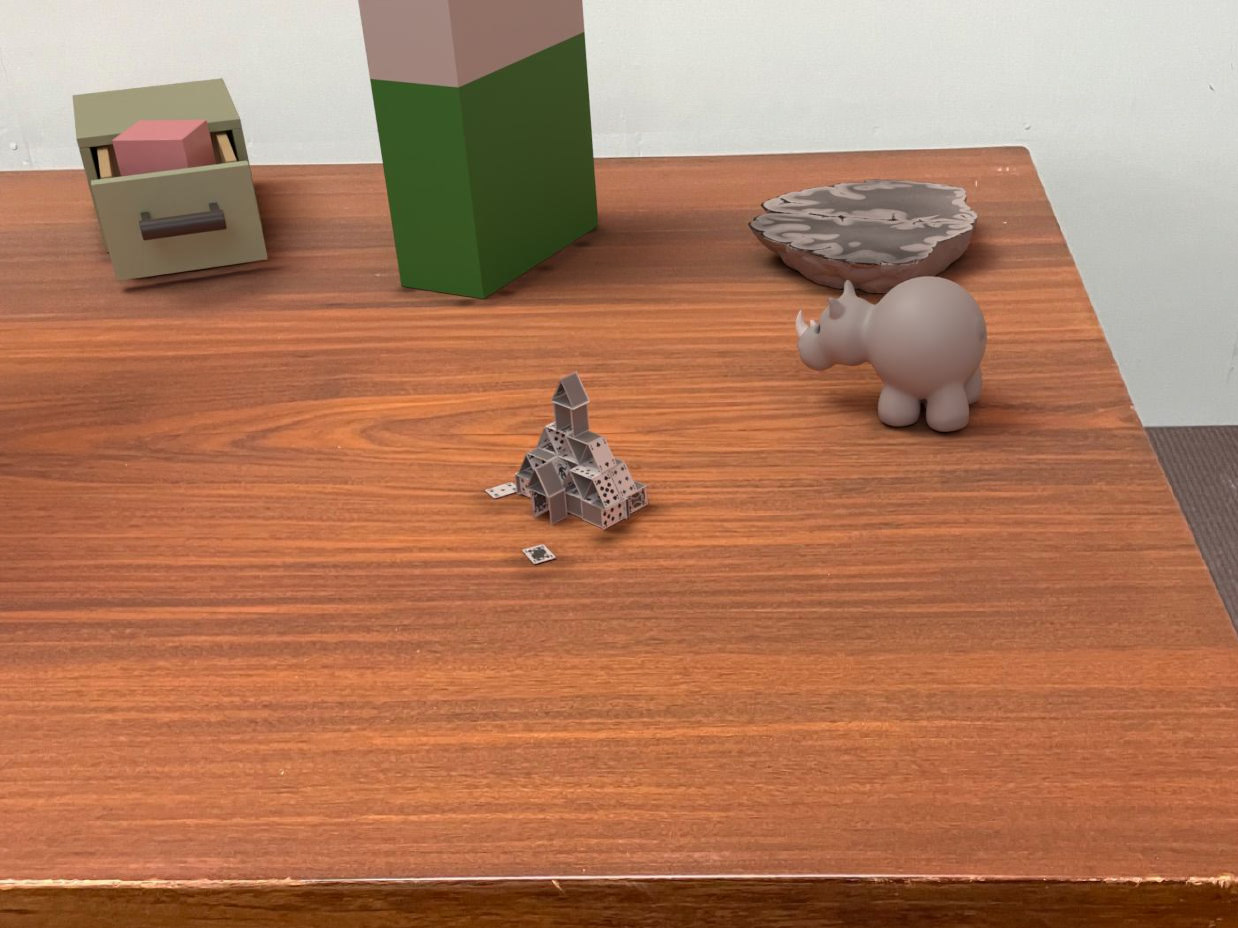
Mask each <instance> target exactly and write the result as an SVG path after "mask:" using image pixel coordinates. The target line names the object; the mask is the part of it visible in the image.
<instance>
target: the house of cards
mask: <svg viewBox="0 0 1238 928" xmlns="http://www.w3.org/2000/svg"><path fill="white" fill-rule="evenodd" d="M550 402H551V403H552V409H553V417H554V421H552V422H551V423H548V424H546V425H544V427H543V429H542V431H541V434H540V437H539V439H538V442H537V443H536V444H537V445H535V448H534V449H531V450H529V451H527V452H525V453H524V454H525V455H524V458H523V460H522V463H521V466H520V467H519V470H518V472H515V473H514V481H515V483H514V482H512V481H509V482H505V483H503V484H500V485H497V486H494V487H490V488H487V489H485V490H484V491H485V492H486V493H487V494H489V496H490V497H492V498H493V499H497V498H501V497H505V496H507V495H510V494H514V493H516V496H519V495H522V496H526V497H528V498H530V502H531V510H532V511H531V512H532V518H536V517H538V516H540V515H542V514H544V513H546V512H548V511H549V519H550V526H553V525H554V524H556V523H558V522H560V521H562V520H564V519H566V518H568V513H569V514H571V515H573V516H576V517H578V518H581V520H582V521H585V522H587V523H589V524H592V525H593V526H596V527H598V528H600V529H601V531H604V530H606V529H608V528H610V527H612V526H613V525H616V524H618V523H619V522H621V521H623V520H628V518H631V515H632V514H633V513H634V512H636V511H639V510H640V509H642V508H644V507H646V506H648V505H649V501H648V500H649V499H648V484H644V483H642V482H640V481H637V480H635V479H633V476H632V474H631V472H630V470H629V467H628V465H627V463H626V460H623V459H619V458H618V457H614V454H613V451H612V449H611V447H610V445H609V443H608V441H607V439H606V435H602V434H599V433H596V432H593V431H592V430H590V429H591V428H590V419H589V409H588V408H589V407H588V404H589V403H590V402H591V400H590V398H589V395H588V393H587V391H586V389H585V386H584V385H583V382H582V380H581V378H580V376H579V373H578V371H577V370H576V371H574V372H572V373H569V374H567V375H565V376H562V377H561V378H559V380H558V383H557V385H556V388H555V390H554V393H553V395H552V398H551V400H550ZM521 551H522V552H523V554H525V556H526V557H527V558H528V559H529V560H530V561H531V563H533V565H537V564H539V563H542V562H547V561H550V560H553V559H557V556H555V554H554V553H553V552H552V551H550V549H549V548H548V547H547V546H546V545H545V544H544V543H542V544H538V545H534V546H530V547H527V548H523V549H521Z"/></svg>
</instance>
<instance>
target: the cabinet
mask: <svg viewBox="0 0 1238 928" xmlns="http://www.w3.org/2000/svg"><path fill="white" fill-rule="evenodd" d="M72 105H73V114H74V115H73V117H74V118H73V119H74V126H75V127H74V129H75V139H76V143H77V146H78V150H79V154H80V158H81V162H82V166H83V169H84V173H85V177H86V181H87V185H88V189H89V192H90V195H91V196H90V197H91V199H92V204H93V207H94V211H95V215H96V218H97V222H98V226H99V229H100V230H99V231H100V234H101V238H102V241H103V244H104V249H105V252H106V253H109V250H108V247H107V243H106V239H105V235H104V232H103V228H102V224H101V220H100V216H99V213H98V209H97V205H96V201H95V198H94V194H93V190H92V186H91V180H99V179H101V175H100V168H99V160H98V152H97V146H103V145H111V144H113V142H112V140H113V139H115V138H116V137H117V136H119V135H120V134H121V133H123V132H124V131H125V130H127V129H128V128H130V127H131V126H132V125H134V124H135V123H136V122H138V121H139V120H207V124H208V129H209V132H217V131H225V132H226V134H227V137H228V140H229V142H230V145H231V147H232V150H233V152H234V155H235V157H236V160H237V162H239V161H247V162H248V164H249V168H250V173H251V178H252V183H253V188H254V192H255V197H256V202H257V207H258V212H259V217H260V222H261V227H262V231H263V229H264V228H263V224H262V218H261V214H260V209H259V204H258V199H257V194H256V189H255V185H254V180H253V176H252V170H251V165H250V159H249V155H248V151H247V146H246V140H245V135H244V131H243V126H242V119H241V118H240V115H239V113H238V110H237V108H236V106H235V103H234V101H233V99H232V96H231V95H230V93H229V90H228V87H227V84H226V83H225V80H224V79H223V77H220V78H211V79H203V80H195V81H186V82H185V81H184V82H177V83H176V82H175V83H169V84H158V85H150V86H149V85H148V86H141V87H133V88H125V89H124V88H123V89H116V90H107V91H98V92H88V93H80V94H73V95H72Z"/></svg>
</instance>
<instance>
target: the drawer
mask: <svg viewBox="0 0 1238 928" xmlns="http://www.w3.org/2000/svg"><path fill="white" fill-rule="evenodd" d="M209 133H210V138H211V142H212V147H213V152H214V156H215V161H216V165H208V166H200V167H192V168H185V169H177V170H169V171H161V172H153V173H145V174H138V175H130V176H122V177H121V173H120V170H119V166H118V162H117V158H116V154H115V150H114V146H113V144H111V145H103V146H97V152H98V160H99V168H100V175H101V179H99V180H91V186H92V190H93V194H94V198H95V201H96V205H97V209H98V213H99V216H100V220H101V224H102V228H103V232H104V235H105V239H106V243H107V247H108V250H109V252H108V254H109V258H110V261H111V266H112V269H113V274H114V277H115V280H116V282H121V281H127V280H128V281H129V280H135V279H136V280H137V279H141V278H149V277H154V276H155V277H156V276H162V275H163V276H164V275H169V274H175V273H183V272H190V271H197V270H204V269H211V268H218V267H224V266H231V265H238V264H245V263H252V262H258V261H267V260H268V259H269V257H268V251H267V247H266V242H265V238H264V232H263V230H262V228H263V226H262V227H261V224H262V221H261V222H260V219H261V216H260V217H259V214H260V211H259V212H258V209H259V206H258V207H257V204H258V201H257V202H256V199H257V196H256V197H255V194H256V191H255V192H254V189H255V187H254V188H253V184H254V182H253V183H252V179H253V177H252V178H251V174H252V172H251V173H250V169H251V167H250V168H249V164H250V163H249V164H248V162H247V161H239V162H237V160H236V157H235V155H234V152H233V150H232V147H231V145H230V142H229V140H228V137H227V134H226V132H225V131H217V132H209Z"/></svg>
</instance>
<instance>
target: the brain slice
mask: <svg viewBox="0 0 1238 928" xmlns="http://www.w3.org/2000/svg"><path fill="white" fill-rule="evenodd" d="M966 193H967V190H966V189H965V188H962V187H961V186H955V185H950V184H945V183H939V182H938V183H936V182H925V181H913V180H912V181H910V180H901V179H900V180H899V179H880V178H871V179H866V180H864V181H854V182H841V183H840V182H839V183H835V184H830V185H827V186H826V185H825V186H824V185H823V186H814V187H808V188H805V189H801V190H797V191H789V192H785V193H782V194H780V195H777V196H776V197H772V198H769V199H766V200H764V201H762V202H761V204H760V206H761V208H762V209H763V210H764V211H765V212H766V213H762V214H760V215H757V216H754V217H753V219H752V220H751V221H749V222H748V223H747V226H748V228H749V229H750V231H752V233H753V234H754V236H755V237H756V238H757V240H759V242H760V243H761V244H762V245H763V246H764V247H766V248H767V249H768V250H770V251H771V252H773V253H775V254H777V255H779V256H780V258H781V260H782V262H783V263H784V264H785V265H786V266H787V267H789V268H791V269H793V270H795V271H798V272H799V273H800V274H801V275H802V276H803V277H805V278H806V279H807V280H810V281H812V282H813V283H815V284H818V285H821V286H825V287H826V286H827V287H829V288H833V289H842V290H844V283H845V282H846V280H849V281H850V282H851V283H852V285H853V287H854V290H861V292H866V293H869V294H887V293H888V292H889V291H890V290H891V289H893V288H894V287H895V286H897V285H898V284H900V283H902V282H904V281H907V280H910V279H913V278H917V277H924V276H932V277H937V275H940V274H941V273H942V272H944V271H945V270H946V269H947V268H948V267H949V266H950V265H951V264H952V263H953V262H955V261H957V260H958V259H959V258H961V256H963V254H964V253H965V252H966V251H967V250H968V248H969V245H970V242H971V240H972V236H973V234H974V231H975V228H976V225H977V221H978V218H979V214H978V213H977V212H976V211H974V210H973V209H972V208H971V206H969V205H968V204H967V201H968V195H967V194H966Z"/></svg>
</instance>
